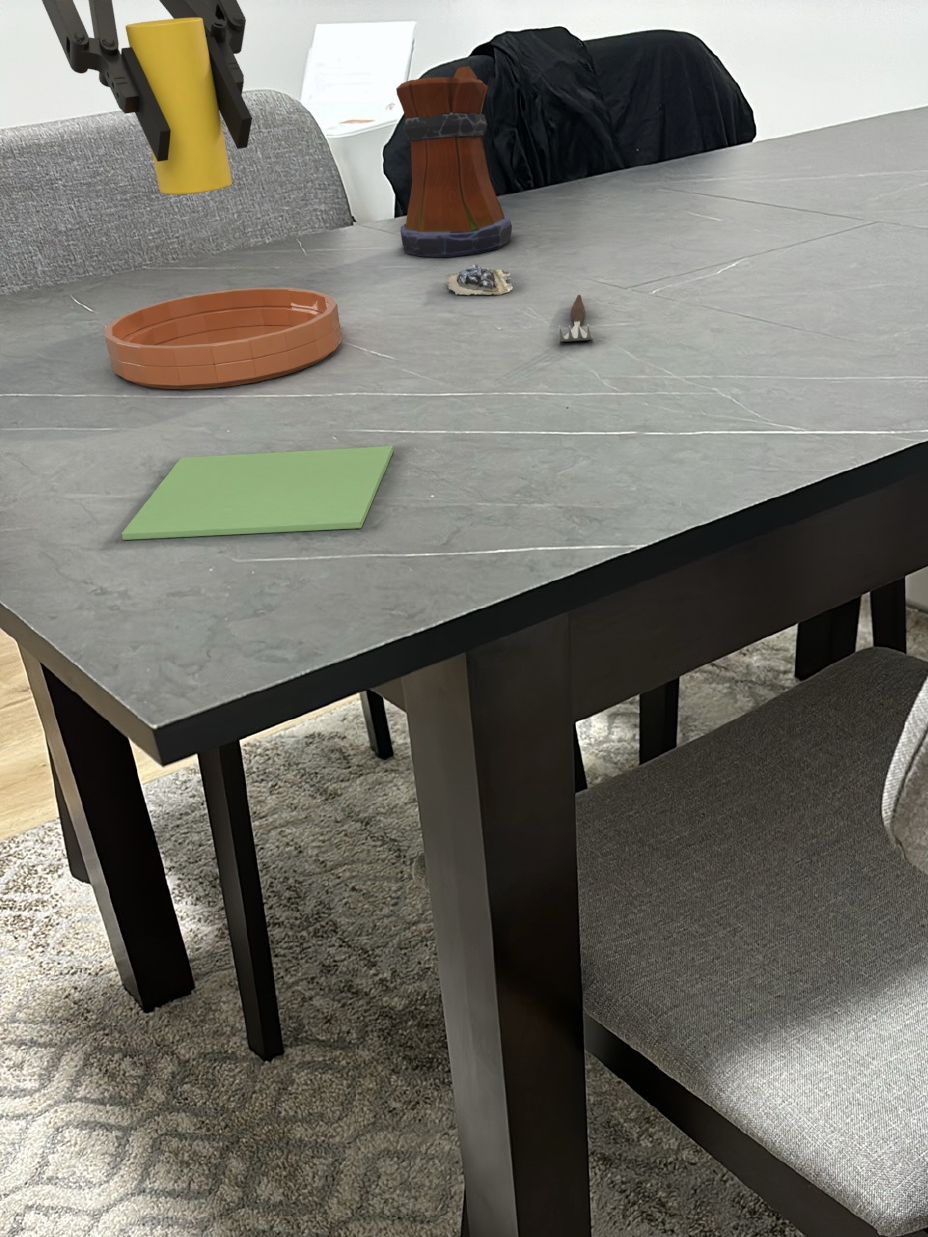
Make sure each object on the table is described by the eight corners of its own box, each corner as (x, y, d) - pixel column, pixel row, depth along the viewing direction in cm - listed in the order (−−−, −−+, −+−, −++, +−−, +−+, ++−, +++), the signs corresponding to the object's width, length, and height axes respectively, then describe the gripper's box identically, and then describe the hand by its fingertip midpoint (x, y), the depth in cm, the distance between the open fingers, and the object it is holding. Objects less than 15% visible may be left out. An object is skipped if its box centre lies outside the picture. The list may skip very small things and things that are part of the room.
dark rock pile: (496, 272, 125) (494, 250, 124) (537, 287, 119) (536, 263, 118) (431, 286, 123) (428, 263, 121) (470, 301, 117) (468, 277, 116)
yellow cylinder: (151, 196, 95) (115, 27, 89) (170, 183, 99) (137, 21, 93) (222, 191, 95) (191, 21, 88) (239, 178, 99) (210, 15, 93)
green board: (122, 540, 77) (120, 533, 77) (182, 463, 87) (180, 457, 87) (361, 528, 76) (360, 521, 76) (393, 451, 86) (392, 445, 86)
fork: (595, 300, 114) (594, 275, 112) (592, 352, 101) (591, 323, 100) (564, 302, 114) (563, 277, 113) (557, 354, 101) (556, 326, 100)
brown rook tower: (427, 224, 147) (410, 62, 137) (531, 218, 145) (520, 53, 135) (389, 261, 133) (367, 83, 123) (503, 255, 131) (489, 74, 121)
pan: (84, 398, 101) (72, 354, 99) (151, 335, 116) (142, 295, 114) (319, 384, 100) (312, 338, 98) (358, 321, 114) (352, 281, 112)
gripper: (188, -109, 101) (315, 160, 99) (-58, -89, 94) (75, 200, 92) (197, -208, 94) (334, 79, 92) (-67, -195, 87) (76, 115, 85)
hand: (204, 139), depth 92 cm, fingers closed on yellow cylinder, 5 cm apart
